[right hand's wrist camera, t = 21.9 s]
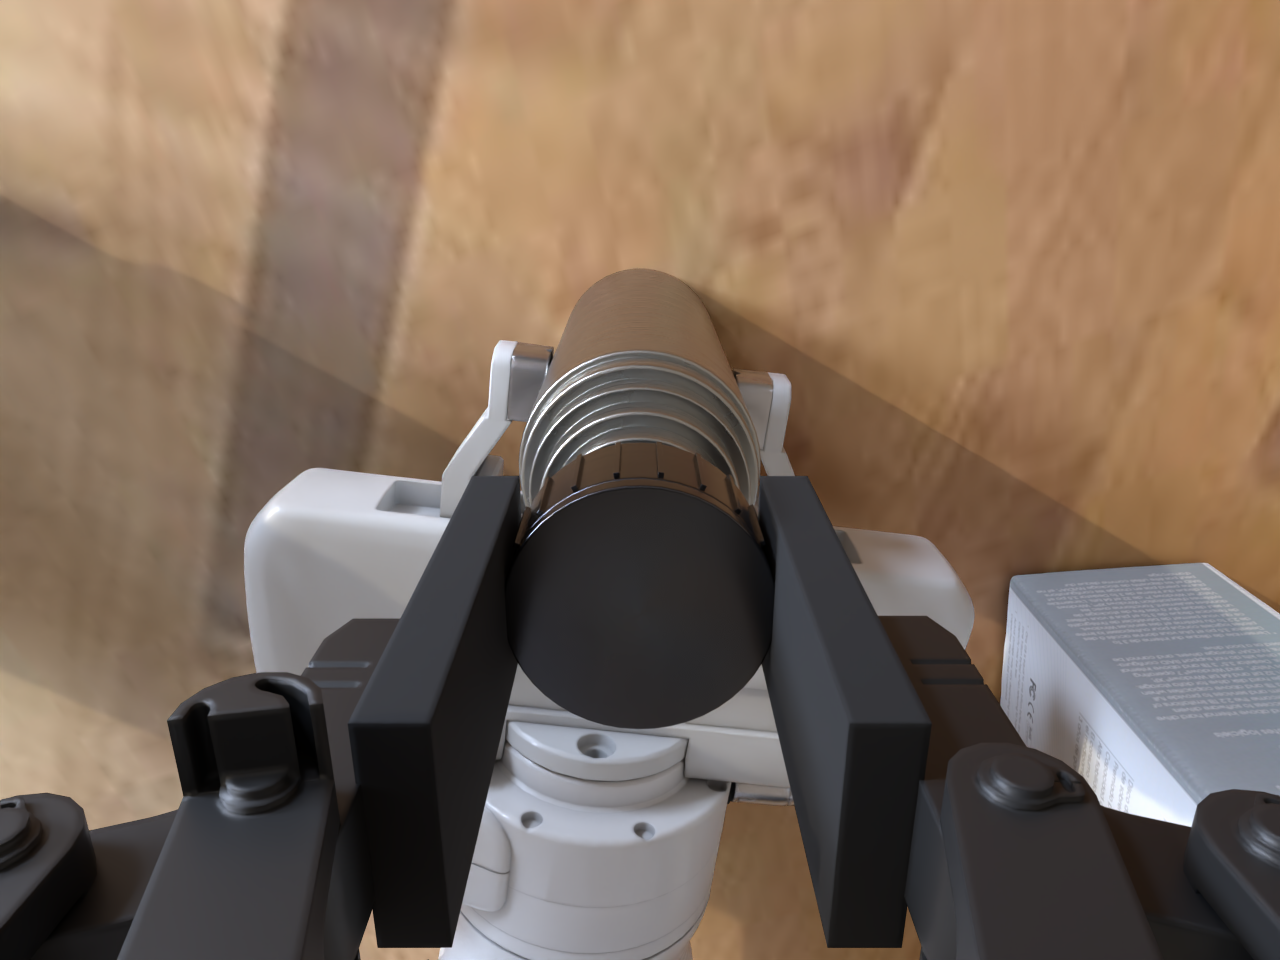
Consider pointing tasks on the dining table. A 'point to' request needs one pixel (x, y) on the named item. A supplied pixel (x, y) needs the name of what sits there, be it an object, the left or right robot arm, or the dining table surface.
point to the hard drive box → (1146, 683)
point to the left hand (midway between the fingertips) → (642, 360)
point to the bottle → (639, 383)
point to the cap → (639, 587)
